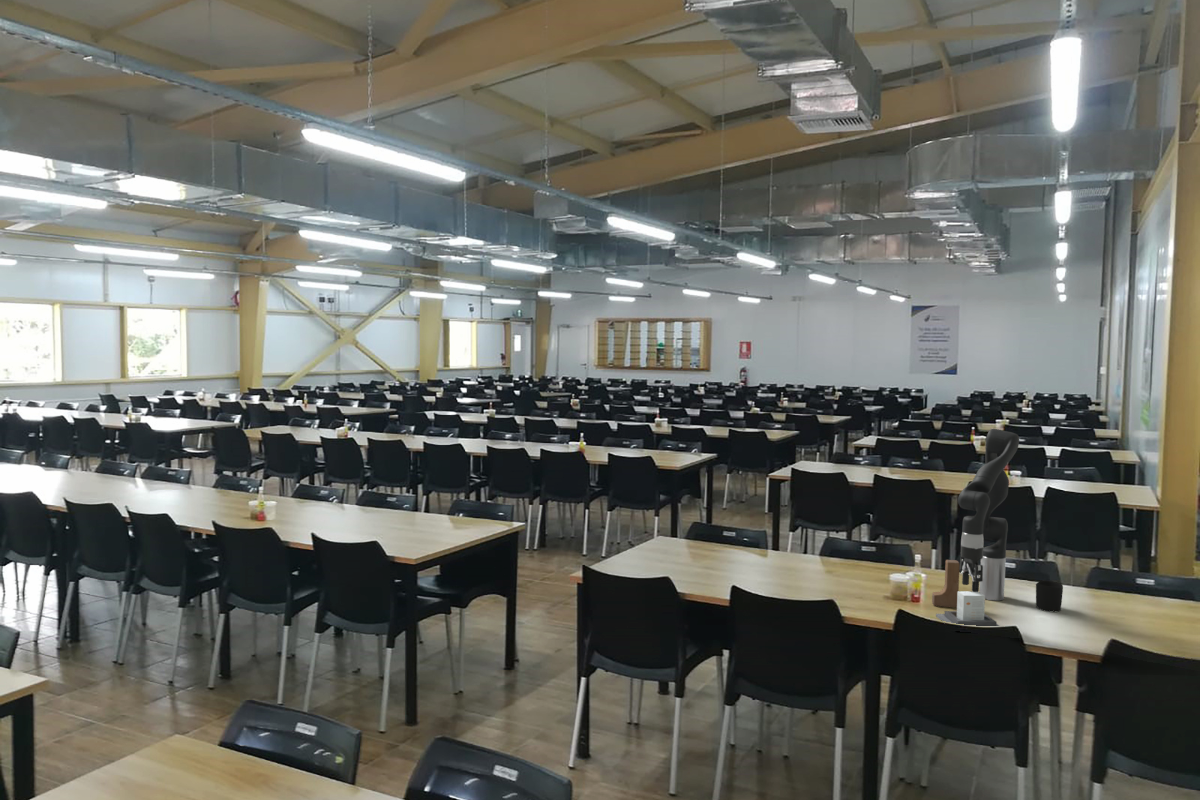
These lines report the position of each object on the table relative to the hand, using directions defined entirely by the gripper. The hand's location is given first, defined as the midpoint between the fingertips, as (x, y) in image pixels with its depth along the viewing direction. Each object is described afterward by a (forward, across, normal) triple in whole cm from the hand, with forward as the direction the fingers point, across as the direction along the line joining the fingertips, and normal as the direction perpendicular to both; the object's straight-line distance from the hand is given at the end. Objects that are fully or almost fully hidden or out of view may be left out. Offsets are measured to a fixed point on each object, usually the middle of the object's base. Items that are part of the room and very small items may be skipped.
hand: (970, 588), depth 312 cm
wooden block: (+14, -22, 0) cm, 27 cm away
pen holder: (+14, -21, +40) cm, 47 cm away
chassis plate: (+14, 0, 0) cm, 14 cm away
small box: (+13, 0, 0) cm, 13 cm away
